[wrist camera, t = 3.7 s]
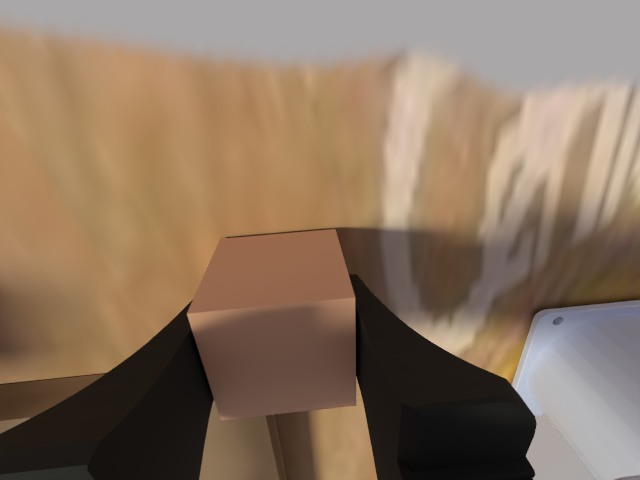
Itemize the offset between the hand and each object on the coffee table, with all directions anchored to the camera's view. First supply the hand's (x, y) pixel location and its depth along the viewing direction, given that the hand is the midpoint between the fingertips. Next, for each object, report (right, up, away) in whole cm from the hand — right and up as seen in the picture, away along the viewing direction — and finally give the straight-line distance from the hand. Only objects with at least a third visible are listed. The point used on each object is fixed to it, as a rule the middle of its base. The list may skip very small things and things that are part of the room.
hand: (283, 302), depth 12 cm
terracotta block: (0, +1, +1) cm, 1 cm away
